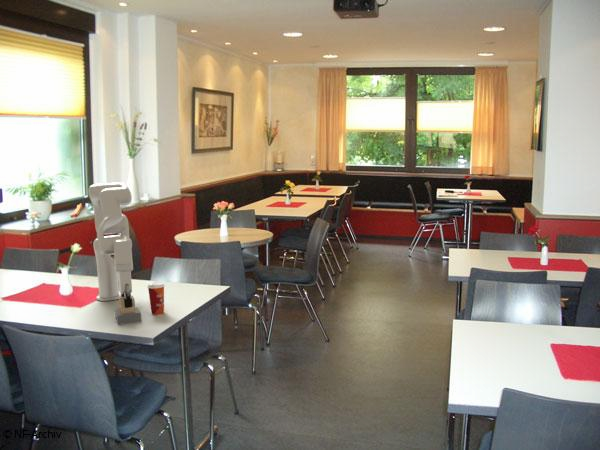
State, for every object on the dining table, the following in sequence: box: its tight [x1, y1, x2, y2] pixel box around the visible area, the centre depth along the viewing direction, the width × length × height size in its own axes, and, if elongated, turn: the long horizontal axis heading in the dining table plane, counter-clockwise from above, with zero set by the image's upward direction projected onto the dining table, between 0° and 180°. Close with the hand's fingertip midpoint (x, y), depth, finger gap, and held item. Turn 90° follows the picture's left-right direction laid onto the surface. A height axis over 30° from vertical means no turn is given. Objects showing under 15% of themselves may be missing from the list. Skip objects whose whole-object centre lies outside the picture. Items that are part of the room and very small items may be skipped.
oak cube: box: [118, 295, 136, 314], centre depth 282 cm, size 6×6×6 cm
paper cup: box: [147, 281, 165, 316], centre depth 291 cm, size 8×8×14 cm
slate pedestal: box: [114, 306, 142, 325], centre depth 283 cm, size 10×10×4 cm
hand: (126, 304), depth 282 cm, fingers open, 9 cm apart
